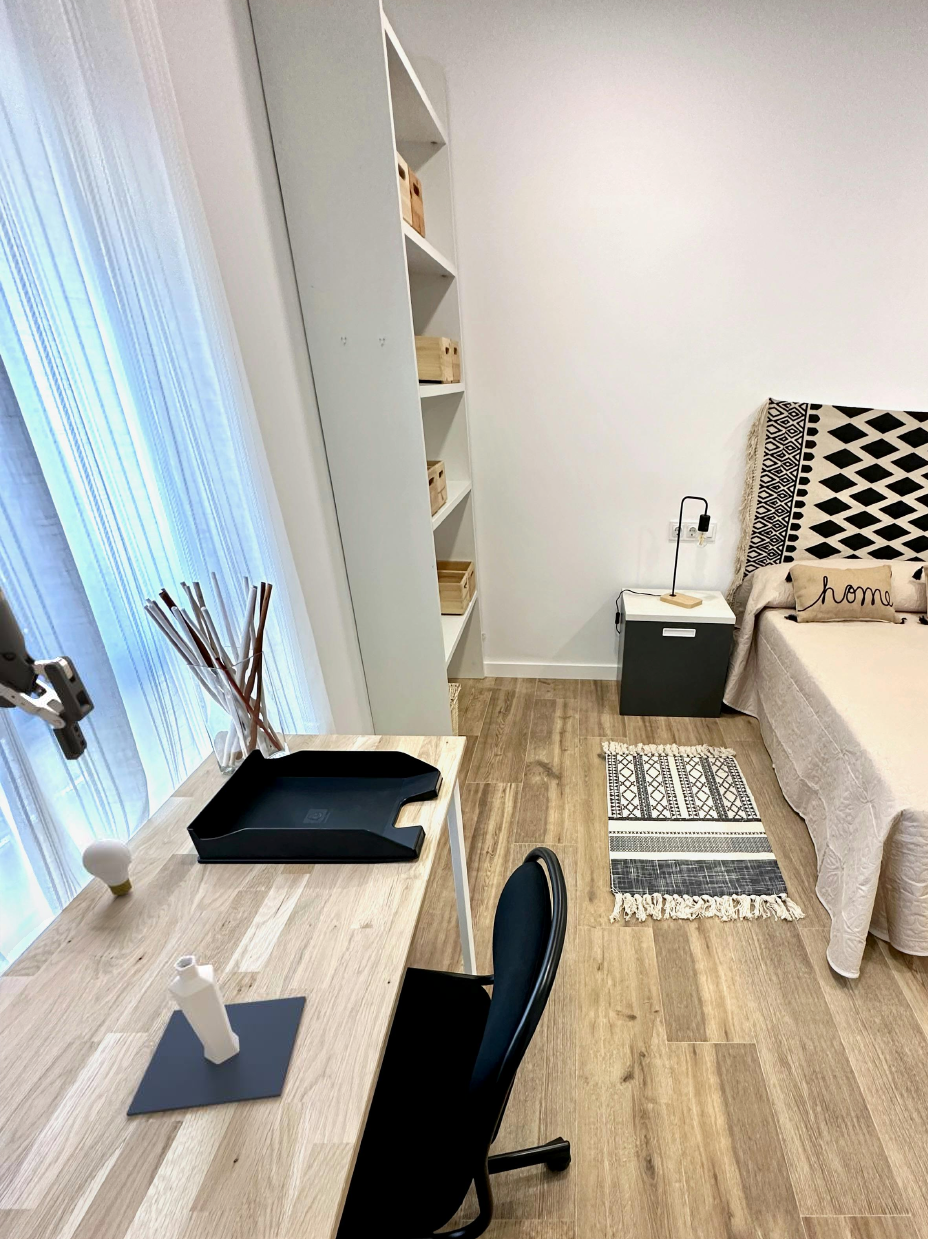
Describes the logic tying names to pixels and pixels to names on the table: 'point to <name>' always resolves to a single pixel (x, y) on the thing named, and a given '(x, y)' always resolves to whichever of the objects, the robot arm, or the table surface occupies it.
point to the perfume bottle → (204, 1008)
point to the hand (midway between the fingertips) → (30, 758)
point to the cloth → (247, 1075)
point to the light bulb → (109, 864)
